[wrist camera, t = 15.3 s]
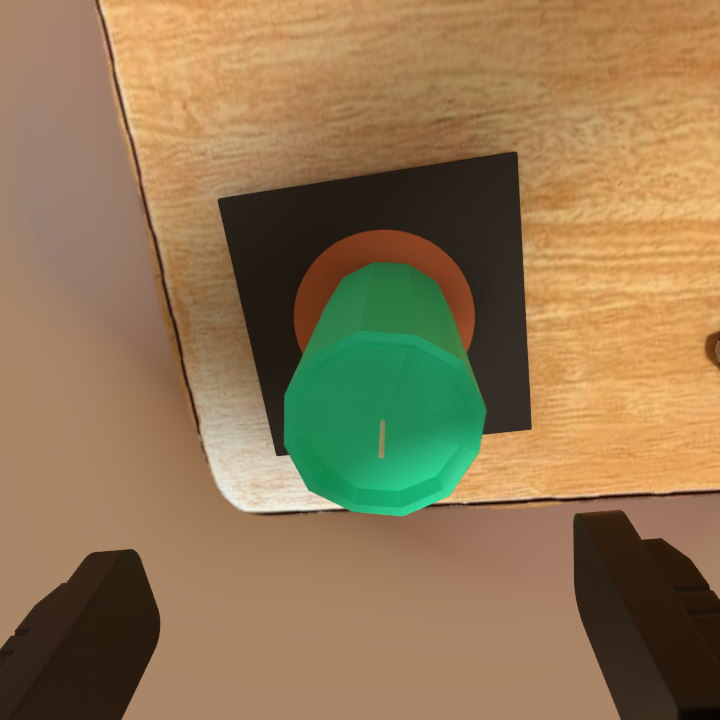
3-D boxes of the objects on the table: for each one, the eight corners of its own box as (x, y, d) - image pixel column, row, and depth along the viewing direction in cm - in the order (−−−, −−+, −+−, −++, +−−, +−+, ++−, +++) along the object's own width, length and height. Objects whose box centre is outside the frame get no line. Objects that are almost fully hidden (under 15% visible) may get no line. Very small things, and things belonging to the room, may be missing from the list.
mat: (221, 198, 25) (216, 199, 24) (514, 151, 24) (518, 151, 23) (278, 450, 29) (275, 457, 29) (529, 424, 28) (532, 430, 27)
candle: (382, 407, 27) (373, 584, 16) (296, 320, 26) (221, 446, 15) (479, 329, 26) (544, 466, 14) (392, 232, 24) (390, 298, 13)
